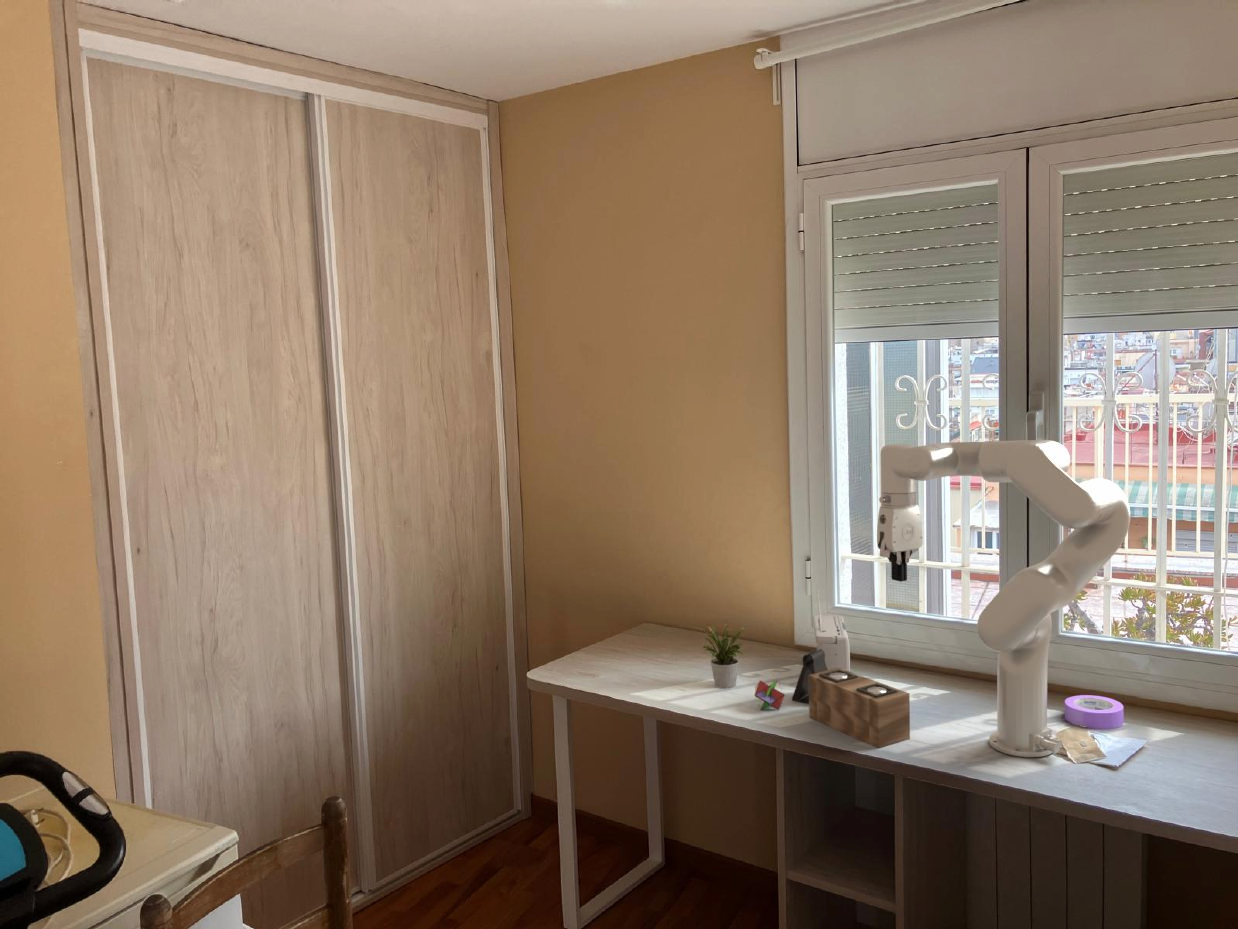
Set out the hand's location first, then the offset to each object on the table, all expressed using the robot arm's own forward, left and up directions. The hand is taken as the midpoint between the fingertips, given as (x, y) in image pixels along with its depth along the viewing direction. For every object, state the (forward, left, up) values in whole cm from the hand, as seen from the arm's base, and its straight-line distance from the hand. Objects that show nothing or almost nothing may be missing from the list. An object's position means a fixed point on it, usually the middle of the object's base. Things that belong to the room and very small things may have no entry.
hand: (899, 580), depth 223 cm
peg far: (+5, +14, -30) cm, 33 cm away
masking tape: (-27, -31, -32) cm, 52 cm away
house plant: (+40, +22, -31) cm, 55 cm away
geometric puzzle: (+20, +22, -31) cm, 43 cm away
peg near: (-7, +14, -30) cm, 34 cm away
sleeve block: (-1, +14, -31) cm, 34 cm away
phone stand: (+18, +10, -31) cm, 37 cm away
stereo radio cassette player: (+30, -6, -31) cm, 44 cm away
